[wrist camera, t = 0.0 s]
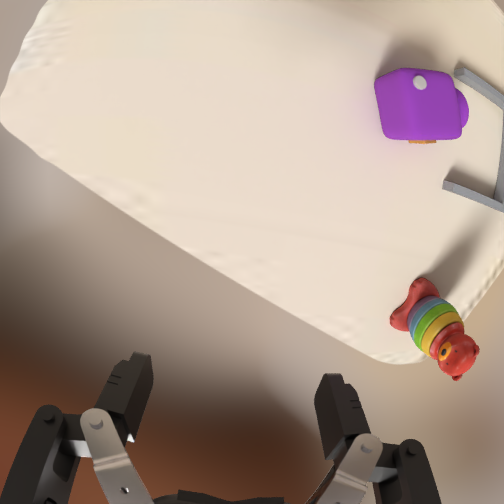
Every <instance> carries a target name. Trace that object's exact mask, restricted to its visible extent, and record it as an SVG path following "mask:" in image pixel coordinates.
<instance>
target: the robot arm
mask: <svg viewBox="0 0 504 504" xmlns="http://www.w3.org/2000/svg"><path fill="white" fill-rule="evenodd" d="M153 379H154V378H153V370H152V362H151V356H150V355H149V354H144V353H139V352H134V353H133V354H132V356H131V358H130V360H129V361H126V360H122V361H121V362H119V363H118V364H117V365H116V366H115V367H114V369H113V371H112V373H111V376H109V378H108V380H107V383H106V384H105V386H104V389H103V391H102V392H101V394H100V396H99V399H98V401H97V403H96V405H95V407H94V408H93V409H89V410H87V411H86V412H84V413H83V414H81V415H76V414H63V413H62V412H61V410H60V409H59V408H57V407H56V406H53V405H44V406H42V407H40V408H39V409H38V410H37V412H36V414H35V416H34V418H33V420H32V422H31V424H30V426H29V428H28V430H27V432H26V434H25V436H24V438H23V441H22V443H21V445H20V447H19V450H18V452H17V454H16V457H15V459H14V462H13V464H12V467H11V469H10V472H9V474H8V477H7V480H6V483H5V486H4V488H3V491H2V494H1V498H0V504H68V500H69V496H70V493H71V489H72V485H73V482H74V478H75V475H76V472H77V468H78V465H79V462H80V459H81V456H82V457H92V459H93V462H94V466H93V467H94V470H95V472H96V475H97V478H98V480H99V482H100V484H101V487H102V489H103V491H104V493H105V495H106V497H107V499H108V501H109V503H110V504H290V503H286V502H284V498H283V497H272V498H262V497H260V498H259V497H258V498H253V499H247V500H241V501H234V502H230V501H226V500H223V499H219V498H216V497H213V496H210V495H207V494H203V493H197V492H190V491H183V490H178V494H172V495H165V496H161V497H158V498H156V499H154V500H153V499H152V497H151V496H150V494H149V492H148V491H147V489H146V487H145V486H144V484H143V482H142V481H141V479H140V477H139V475H138V473H137V471H136V469H135V468H134V466H133V464H132V462H131V460H130V458H129V456H128V454H127V452H126V450H125V445H126V442H127V440H128V441H132V442H135V438H136V435H137V432H138V429H139V426H140V423H141V420H142V416H143V414H144V411H145V408H146V405H147V401H148V399H149V396H150V393H151V390H152V387H153ZM314 405H315V410H316V414H317V420H318V425H319V430H320V435H321V440H322V446H323V450H324V456H325V460H329V459H333V461H334V465H333V466H332V468H331V469H330V471H329V472H328V474H327V475H326V477H325V478H324V480H323V481H322V483H321V484H320V485H319V487H318V488H317V490H316V491H315V492H314V494H313V495H312V496H311V497H310V498H309V499H308V501H307V502H306V503H305V504H360V503H361V500H362V499H363V497H364V495H365V493H366V491H367V488H368V487H367V486H366V484H367V482H372V483H373V488H374V494H375V499H376V504H441V500H440V497H439V493H438V490H437V486H436V483H435V480H434V477H433V474H432V471H431V467H430V464H429V461H428V458H427V456H426V453H425V450H424V447H423V446H422V444H421V443H420V442H419V441H417V440H414V439H407V440H405V441H403V442H402V443H401V444H400V445H395V444H387V443H382V442H381V440H380V439H379V438H377V437H376V436H375V435H373V434H371V432H370V429H369V426H368V423H367V420H366V417H365V414H364V411H363V409H362V406H361V403H360V401H359V397H358V394H357V392H356V390H355V389H354V388H353V387H352V386H351V385H350V384H345V383H344V380H343V377H342V375H341V374H338V373H337V374H336V373H334V374H333V373H331V374H330V373H329V374H328V373H326V374H324V375H323V377H322V380H321V382H320V384H319V387H318V389H317V391H316V394H315V398H314Z"/></svg>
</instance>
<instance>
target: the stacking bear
mask: <svg viewBox="0 0 504 504" xmlns="http://www.w3.org/2000/svg"><path fill="white" fill-rule="evenodd" d="M390 324H391V326H392V327H394V328H395V329H398V330H401V331H409V332H410V334H411V337H412V339H413V341H414V343H415V344H416V346H417V347H418V348H419V349H420V350H421V351H423V352H424V353H425V354H427V355H428V356H429V357H431V358H433V359H436V360H438V365H439V367H440V368H441V370H442V371H443V372H444V373H446V374H447V375H450V376H452V379H453V380H454V381H457V380H459V379H460V378H461V377H462V374H463V373H465V372H466V371H467V370H469V369H470V368H471V367H472V365H473V363H474V362H475V360H476V356H477V355H478V354H479V346H478V345H476V343H475V342H474V340H473V339H472V338H471V337H469V336H468V335H465V334H464V324H463V321H462V319H461V318H460V316H459V314H458V312H457V311H456V309H455V308H454V307H453V306H452V305H451V304H450V303H448V302H447V301H445V300H443V299H441V298H440V297H439V293H438V291H437V289H436V288H435V286H434V285H433V284H432V283H431V282H430V281H428V280H427V279H425V278H419V279H418V280H415V281H414V282H413V284H412V285H411V286H410V289H409V295H408V297H407V300H406V301H405V303H404V304H403V305H402V306H401V307H400V308H398V309H397V310H395V311H394V312H393V314H392V316H391V317H390Z"/></svg>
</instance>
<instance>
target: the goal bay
mask: <svg viewBox="0 0 504 504" xmlns="http://www.w3.org/2000/svg"><path fill="white" fill-rule="evenodd" d="M454 77H455V78H457V79H458V80H460V81H462V82H463V83H465V84H467V85H468V86H470V87H471V88H473V89H474V90H476V91H477V92H479V93H480V94H482V95H483V96H485V97H486V98H488V99H489V100H490V101H492V102H493V103H495V104H496V105H497V106H499V107H500V108H501V109H503V110H504V95H502V94H501V93H500V92H499V91H497V90H496V89H495V88H493V87H492V86H491V85H489V84H488V83H487V82H485V81H484V80H482V79H481V78H480V77H478V76H477V75H475V74H474V73H472V72H471V71H469V70H468V69H466V68H465V67H464V68H460V69H456V70H454ZM442 189H444V190H447V191H450V192H453V193H456V194H458V195H461V196H464V197H466V198H469V199H471V200H474V201H477V202H479V203H482V204H484V205H486V206H489V207H491V208H494V209H496V210H498V211H501V212H503V213H504V112H503V134H502V146H501V156H500V164H499V171H498V177H497V183H496V189H495V194H494V199H491V198H489V197H487V196H484V195H482V194H480V193H477V192H475V191H473V190H470V189H468V188H465V187H463V186H460V185H458V184H455V183H452V182H449V181H445V180H444V183H443V188H442Z"/></svg>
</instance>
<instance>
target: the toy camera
mask: <svg viewBox="0 0 504 504" xmlns="http://www.w3.org/2000/svg"><path fill="white" fill-rule="evenodd" d="M374 88H375V94H376V98H377V103H378V108H379V114H380V119H381V125H382V129H383V133H384V135H385V136H386V137H387V138H390V139H395V140H408V141H409V143H419V144H428V143H436V140H451V139H457V138H459V137H460V136H461V134H462V128H463V127H464V126H465V125H466V123H467V121H468V116H469V108H468V104H467V101H466V99H465V97H464V95H463V94H462V93H461V92H460V91H459V90H458V89H456V88H455V86H454V82H453V80H452V78H451V76H450V75H448V74H447V73H444V72H439V71H432V70H425V69H416V68H400V69H397V70H394V71H392V72H390V73H388V74H386V75H383V76H381V77H379V78H378V79H376V80H375V83H374Z"/></svg>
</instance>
